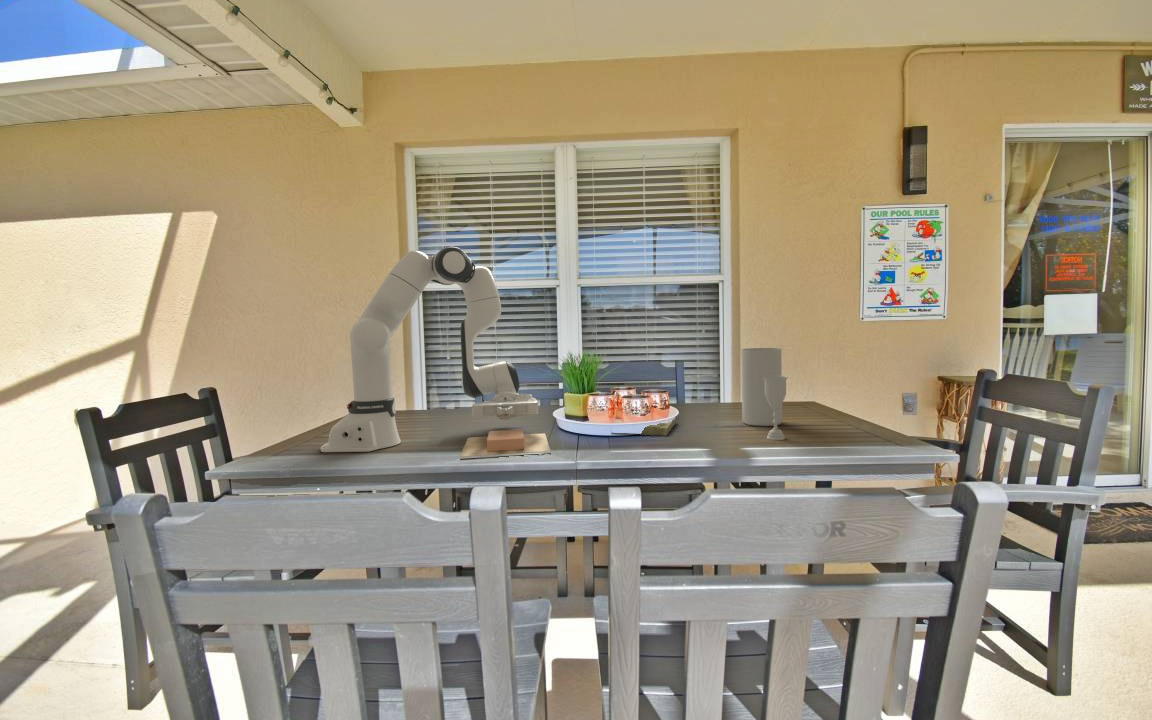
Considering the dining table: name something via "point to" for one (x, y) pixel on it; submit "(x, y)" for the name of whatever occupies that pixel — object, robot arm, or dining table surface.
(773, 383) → the chalice
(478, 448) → the oak board
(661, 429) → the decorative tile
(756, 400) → the cylinder vase
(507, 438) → the terracotta tile
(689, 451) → the dining table surface
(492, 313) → the robot arm
